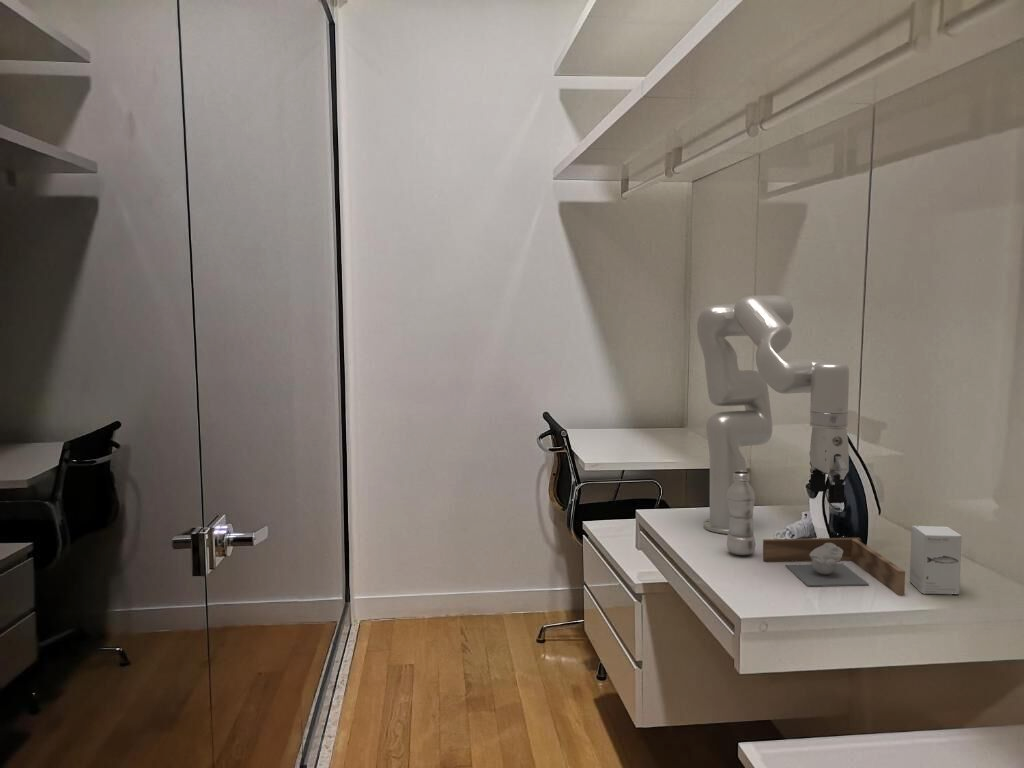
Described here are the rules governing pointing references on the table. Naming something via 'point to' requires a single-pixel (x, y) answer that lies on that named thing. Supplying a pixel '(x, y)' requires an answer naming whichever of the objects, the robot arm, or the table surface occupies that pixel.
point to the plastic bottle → (741, 515)
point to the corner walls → (851, 551)
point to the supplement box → (935, 559)
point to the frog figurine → (826, 558)
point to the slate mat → (826, 576)
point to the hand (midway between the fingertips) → (826, 496)
